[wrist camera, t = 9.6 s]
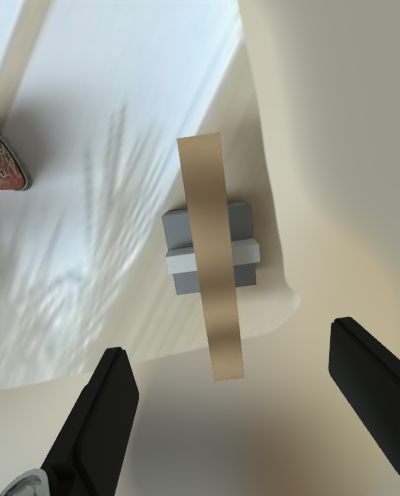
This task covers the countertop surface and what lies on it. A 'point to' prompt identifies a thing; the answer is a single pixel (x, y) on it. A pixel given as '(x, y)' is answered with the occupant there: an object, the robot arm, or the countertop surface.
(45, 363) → the countertop surface
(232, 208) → the ridge stand
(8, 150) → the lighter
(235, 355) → the batten
